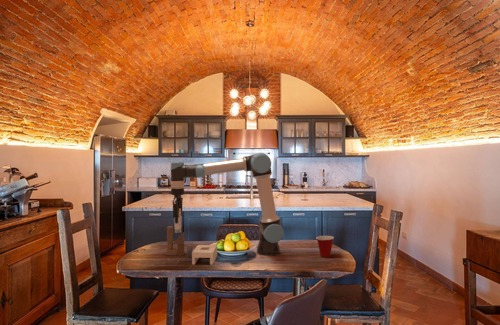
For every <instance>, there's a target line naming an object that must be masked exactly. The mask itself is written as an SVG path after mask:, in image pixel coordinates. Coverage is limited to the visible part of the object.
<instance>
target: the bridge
mask: <svg viewBox="0 0 500 325" xmlns="http://www.w3.org/2000/svg"><path fill="white" fill-rule="evenodd" d="M217 257H218V244H198V245H197V246H196V247H195V248H193V252H192V257H191V265H196V263H197V262H198V261H199V259H200V258H201V259H206V258H208V259H209V265H210V266H211V265H214V263H215V262H216V260H217Z"/></svg>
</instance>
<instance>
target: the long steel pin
mask: <svg viewBox="0 0 500 325" xmlns="http://www.w3.org/2000/svg"><path fill="white" fill-rule="evenodd" d="M174 233H175V234H180V233H181V234H182V216H181V208H179V229H175V228H174Z"/></svg>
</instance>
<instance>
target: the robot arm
mask: <svg viewBox="0 0 500 325" xmlns="http://www.w3.org/2000/svg"><path fill="white" fill-rule="evenodd" d="M241 171H245V172H251V173H252V178H253V179H255V181H256V182H255V183H256V188H257V193H258V194H257V195H258V199H259V204H260V209H261V215H262V216H260V218H259V220H258V221H259V222H258V223H259V224H258V225H259V232H258V233H259V236H258V238H259V241H258V243H257V244H258V245H257V247H256V253H257V254H258V255H261V256H276V255H279V254H280V253H281V248H280V244H279V242H280V241H281V240H282V239H283V237H284V233H285V232H284V228H283V227H282V224H281V218H280V216H278V215H277V211H276V210H277V209H276V204H275V198H274V193H273V187H272V182H271V175H272V159H271V158H270V156H269V155H267V154H266V153H264V152H258V153H253V154H250V155H248V156H247V155H246V156H243V157H242V158H237V159H236V158H235V159H228V160H221V161H219V160H218V161H212V162H205V163H198V164H197V163H195V164H185V163H184V161H172V162H171V163H170V187H171V188H170V195H171V196H174V197H173V199H172V201H171V202H172V218H173V219H174V220H173V221H174V230H175V229H179V208H181V217H183V216H184V213H183V199H184V198H183V197H182V195H185V179H188V178H189V179H190V178H191V179H192V178H193V179H194V178H198V179H199V178H204V177H205V176H210V175H218V174H224V173H226V174H227V173H233V172H241Z"/></svg>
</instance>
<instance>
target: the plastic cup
mask: <svg viewBox="0 0 500 325" xmlns="http://www.w3.org/2000/svg"><path fill="white" fill-rule="evenodd" d="M315 238H316V241H317V244H318V250H319V255H320V257H321V258H330V257H331V253H332V247H333V242H334V236H332V235H318V236H317V237H315Z"/></svg>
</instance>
